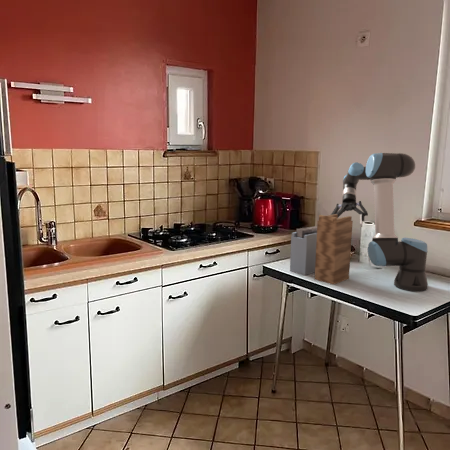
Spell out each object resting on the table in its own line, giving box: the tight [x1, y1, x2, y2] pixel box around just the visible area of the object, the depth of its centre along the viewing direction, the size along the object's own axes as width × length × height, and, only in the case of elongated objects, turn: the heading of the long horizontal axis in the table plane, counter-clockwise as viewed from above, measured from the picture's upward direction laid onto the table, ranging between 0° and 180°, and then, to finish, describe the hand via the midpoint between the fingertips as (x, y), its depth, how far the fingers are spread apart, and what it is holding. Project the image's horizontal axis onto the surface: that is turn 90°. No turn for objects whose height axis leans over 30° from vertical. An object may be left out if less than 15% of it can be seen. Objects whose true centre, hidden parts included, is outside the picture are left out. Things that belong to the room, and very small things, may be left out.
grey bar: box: [295, 225, 317, 238], centre depth 245 cm, size 5×22×4 cm, turn 129°
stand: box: [314, 214, 354, 285], centre depth 228 cm, size 11×14×33 cm
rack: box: [289, 231, 317, 276], centre depth 243 cm, size 10×14×21 cm
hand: (348, 226), depth 249 cm, fingers open, 13 cm apart
